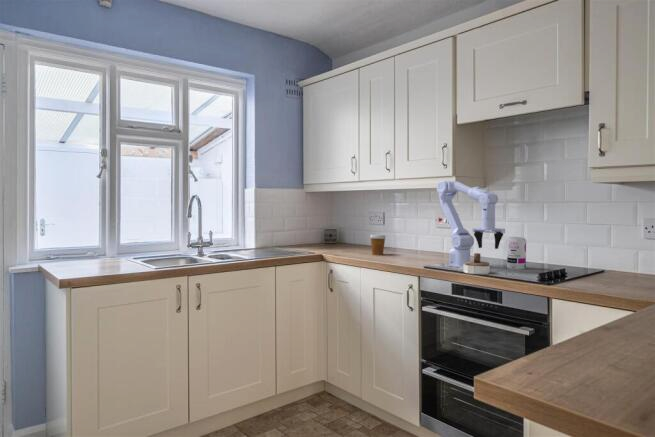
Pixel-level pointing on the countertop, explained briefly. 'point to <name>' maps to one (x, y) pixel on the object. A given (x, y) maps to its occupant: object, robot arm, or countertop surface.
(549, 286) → the countertop surface
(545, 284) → the countertop surface
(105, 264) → the countertop surface
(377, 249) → the disposable coffee cup
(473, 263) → the lid
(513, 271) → the mat
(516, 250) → the supplement can
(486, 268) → the bowl
